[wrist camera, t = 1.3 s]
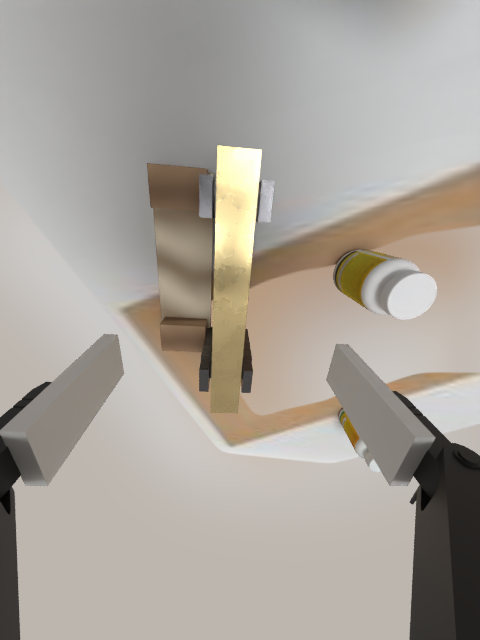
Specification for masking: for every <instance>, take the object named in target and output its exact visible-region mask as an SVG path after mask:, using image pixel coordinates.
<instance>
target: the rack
mask: <svg viewBox="0 0 480 640" xmlns="http://www.w3.org/2000/svg"><path fill="white" fill-rule="evenodd" d="M216 181H217V180H214V177H213V175H207V174H199V217H203V218H216ZM274 185H275V181H273V180H261V181H260V183H259V186H258V197H257V208H256V219H255V221H256V222H267V223H270V220H271V211H272V202H273V194H274ZM212 335H213V327H211V328H207V331H206V335H205V340H204V345H203V350H202V355H201V364H200V369H199V391H206V392H208V390H209V382H210V378H211V373H212ZM251 362H252V356H251V350H250V343H249V337H248V330H247V329H245V339H244V350H243V361H242V372H241V387H242V392H243V393H250V392H251V383H252V375H253V369H252V363H251Z"/></svg>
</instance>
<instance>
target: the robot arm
mask: <svg viewBox="0 0 480 640" xmlns="http://www.w3.org/2000/svg"><path fill="white" fill-rule="evenodd" d="M123 374H124V370H123V364H122V358H121V351H120V346H119V339H118V335H113V334H104V335H103V336H102V337H101V338H99V339H98V340H97V341H96V342H95V343H94V344H93V345H92V346H91V347H90V348H89V349H88V350H86V351H85V352H84V353H83V354H82V355H81V356H80V357H79V358H78V359H77V360H76V361H75V362H73V363H72V364H71V365H70V366H69V367H68V368H67V369H66V370H65V371H64V372H63V373H62V374H61V375H59V376H58V377H57V378H56V379H55V380H54V381H53V382H45V383H44V384H42V385H40V386H38V387H36V388H34V389H33V390H31V391H30V392H29V393H28V394H27V395H26V396H25V397H23V398H22V400H20V401H19V402H18V403H16V404H15V405H14V406H13V408H11V409H10V410H8V411H7V412H6V413H5V414H4V415H3V416H1V417H0V640H20V623H19V600H18V598H19V597H18V572H17V546H16V521H15V496H14V490H13V488H12V485H13V484H14V483H15V482H16V480H17V479H18V478H19V477H20V476H21V477H22V480H23V482H24V484H25V486H48V485H49V483H50V482H51V480H52V478H53V477H54V476H55V474H56V473H57V472H58V470H59V469H60V467H61V466H62V464H63V463H64V461H65V460H66V458H67V457H68V455H69V454H70V452H71V451H72V449H73V448H74V446H75V445H76V444H77V442H78V440H79V439H80V438H81V436H82V435H83V433H84V432H85V430H86V429H87V427H88V426H89V424H90V423H91V421H92V420H93V418H94V417H95V416H96V414H97V413H98V411H99V410H100V408H101V407H102V405H103V403H104V402H105V401H106V399H107V398H108V396H109V395H110V393H111V392H112V391H113V389H114V388H115V386H116V385H117V383H118V382H119V380H120V379H121V377H122V376H123ZM326 380H327V382H328V383H329V385H330V387H331V388H332V390H333V392H334V394H335V395H336V397H337V399H338V400H339V402H340V404H341V405H342V407H343V409H344V410H345V412H346V414H347V415H348V417H349V419H350V420H351V422H352V424H353V425H354V427H355V429H356V430H357V432H358V434H359V435H360V437H361V439H362V440H363V442H364V444H365V445H366V447H367V449H368V450H369V452H370V454H371V455H372V457H373V459H374V460H375V462H376V464H377V465H378V467H379V469H380V470H381V472H382V474H383V475H384V477H385V479H386V480H387V482H388V483H389V485H390V486H408V484H409V482H410V481H411V479H412V477H413V476H414V477H415V478H416V480H417V481H418V482H419V484H420V485H419V487H418V489H417V490H416V492H415V493H414V495H413V497H412V498H411V501H410V503H411V504H414V502H415V501H416V519H415V539H414V559H413V580H412V582H413V583H412V600H411V622H410V640H480V456H479V455H478V454H476V453H475V452H474V451H472V450H470V449H468V448H466V447H465V446H462V445H459V444H456V443H451V442H450V441H449V440H448V439H447V438H446V437H445V436H444V435H443V434H442V433H441V432H440V431H439V430H438V429H437V428H436V427H435V426H434V425H433V424H432V423H431V422H430V421H429V420H428V419H427V418H426V417H425V416H423V414H422V413H421V412H420V411H419V410H418V409H416V407H415V406H414V405H413V404H412V403H411V402H410V401H409V400H408V399H407V398H406V397H404V396H403V395H401V394H400V393H398V392H397V391H391V390H390V389H389V387H388V386H387V385H386V384H385V383H384V382H383V381H382V380H381V379H380V378H379V377H378V376H377V375H376V374H375V373H374V372H373V370H372V369H371V368H370V367H369V366H368V365H367V364H366V363H365V362H364V361H363V360H362V359H361V358H360V357H359V356H358V354H357V353H356V352H355V351H354V350H353V349H352V348H351V347H350V346H349V345H348V344H336V346H335V350H334V354H333V358H332V361H331V365H330V368H329V372H328V375H327V379H326Z"/></svg>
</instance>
